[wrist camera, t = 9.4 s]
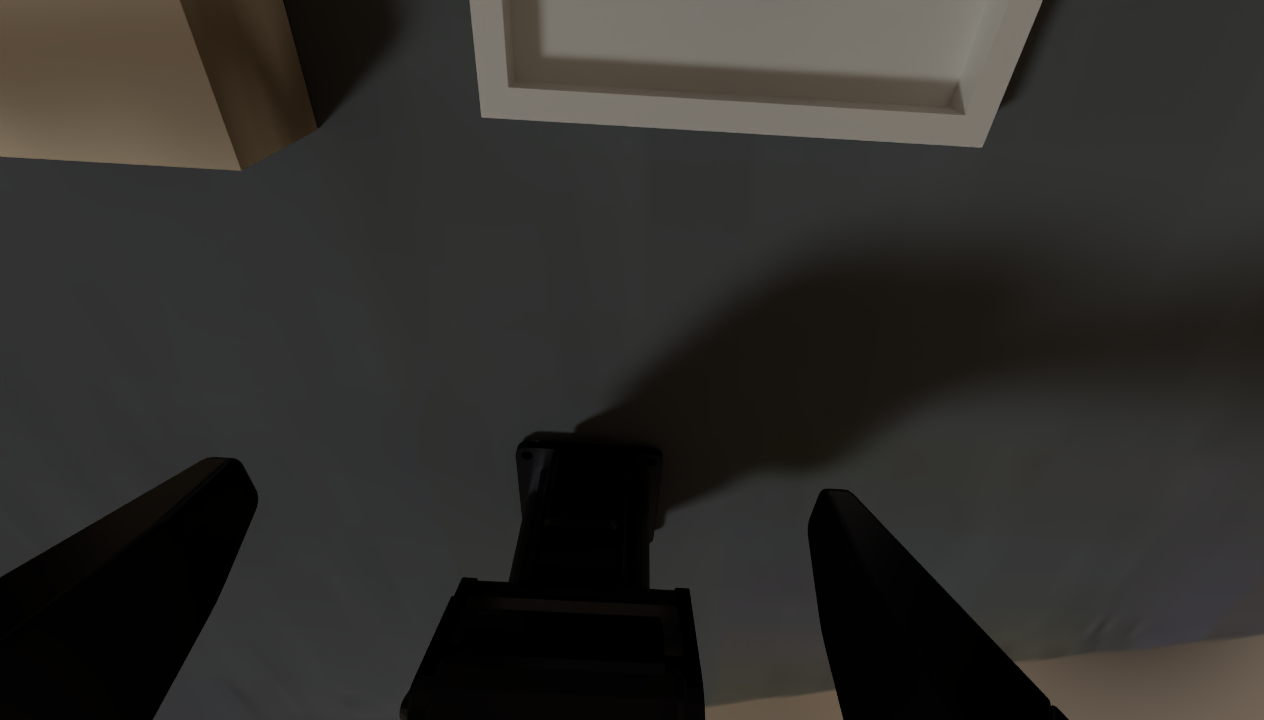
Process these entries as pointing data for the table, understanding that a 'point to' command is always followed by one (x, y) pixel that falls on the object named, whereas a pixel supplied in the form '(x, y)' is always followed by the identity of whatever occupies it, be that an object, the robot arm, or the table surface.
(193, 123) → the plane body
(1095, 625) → the table surface
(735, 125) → the parts tray
